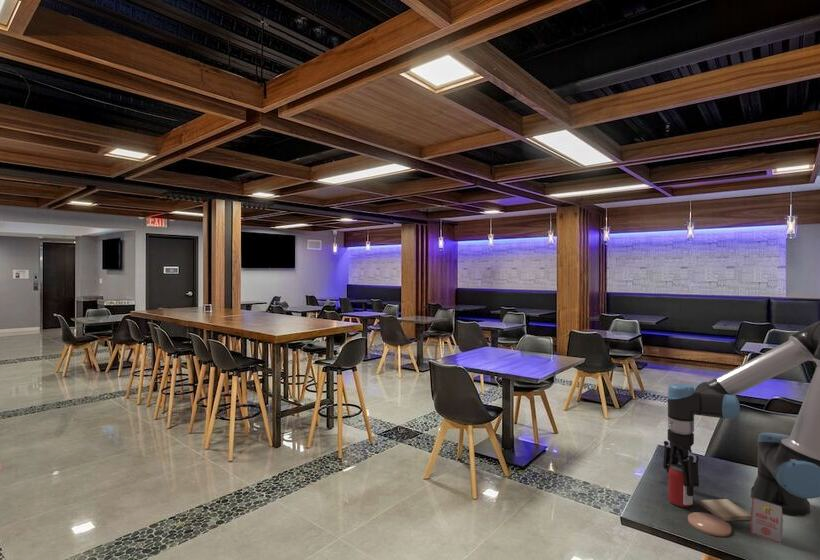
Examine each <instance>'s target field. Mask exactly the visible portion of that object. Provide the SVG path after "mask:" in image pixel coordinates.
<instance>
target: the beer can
mask: <svg viewBox="0 0 820 560" xmlns="http://www.w3.org/2000/svg"><path fill="white" fill-rule="evenodd" d="M667 482H668V486H667V488H668V491H667V492H668V493H667V494H668V497H667V498H668V500H669V502H670V503H671V504H673V505H674V506H677V507H681V508H689V507H690V506H691V505H684V504H683V484H685V480H684V475H683V470H682V465H681V463H678V464H672V465H670V469H669V475H668V474H667Z"/></svg>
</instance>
